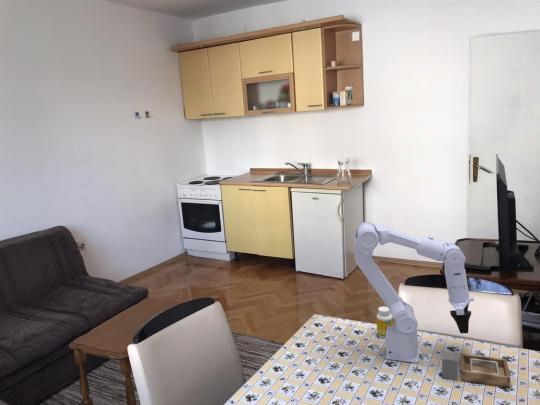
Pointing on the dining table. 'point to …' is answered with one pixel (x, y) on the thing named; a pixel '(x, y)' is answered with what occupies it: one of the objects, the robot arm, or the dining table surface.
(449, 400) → the dining table surface
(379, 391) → the dining table surface
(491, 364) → the box
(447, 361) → the grey rectangular block
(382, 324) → the supplement bottle
